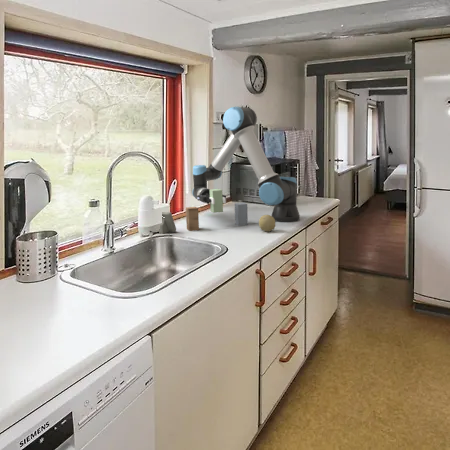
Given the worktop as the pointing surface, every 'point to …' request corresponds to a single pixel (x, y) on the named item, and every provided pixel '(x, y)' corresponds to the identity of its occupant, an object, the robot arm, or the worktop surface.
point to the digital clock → (167, 223)
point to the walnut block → (192, 218)
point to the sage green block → (216, 200)
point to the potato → (267, 223)
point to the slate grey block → (241, 214)
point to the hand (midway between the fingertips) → (219, 201)
